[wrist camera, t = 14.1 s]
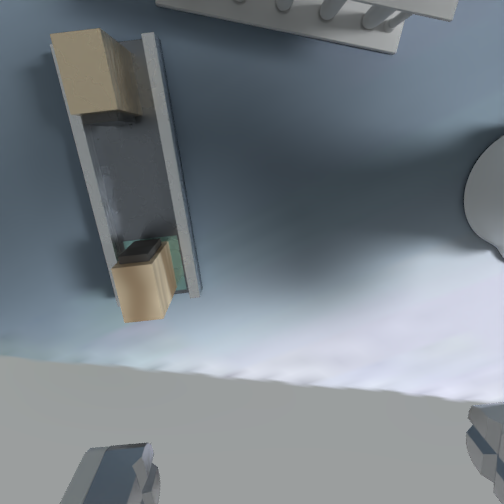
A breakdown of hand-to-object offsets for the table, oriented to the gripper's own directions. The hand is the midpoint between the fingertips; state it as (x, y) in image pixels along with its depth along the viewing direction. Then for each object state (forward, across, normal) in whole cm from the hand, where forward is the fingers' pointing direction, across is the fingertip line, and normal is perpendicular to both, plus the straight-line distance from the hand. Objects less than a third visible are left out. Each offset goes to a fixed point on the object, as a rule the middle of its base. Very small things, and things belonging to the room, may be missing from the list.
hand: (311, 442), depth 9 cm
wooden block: (+33, +13, +6) cm, 36 cm away
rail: (+34, +13, -4) cm, 37 cm away
